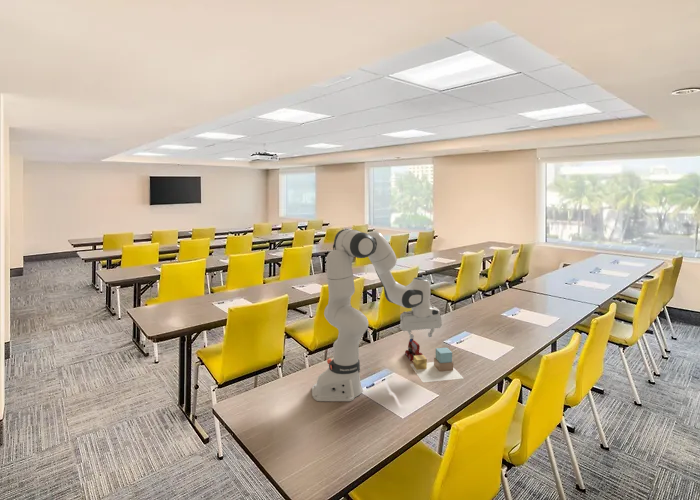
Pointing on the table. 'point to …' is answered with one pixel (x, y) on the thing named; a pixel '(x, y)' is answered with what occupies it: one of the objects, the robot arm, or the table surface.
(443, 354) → the teal block
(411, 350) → the toy fire truck
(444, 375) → the board
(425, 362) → the ochre block
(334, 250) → the robot arm
